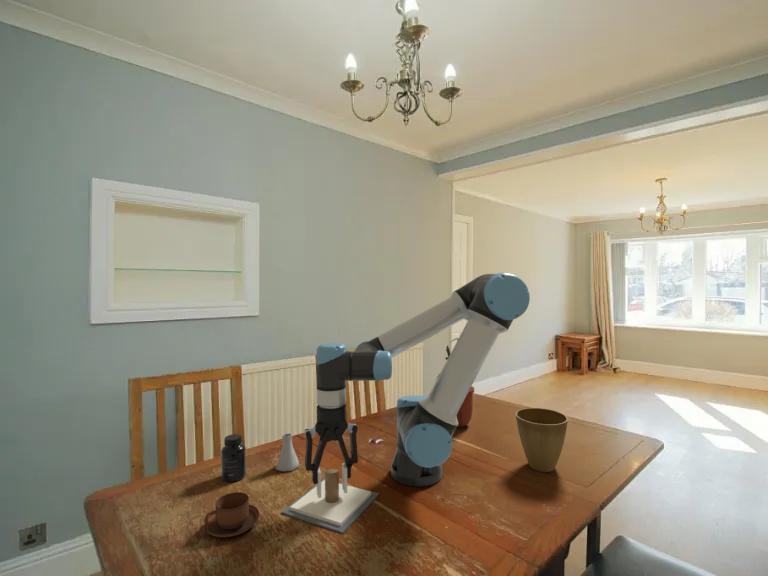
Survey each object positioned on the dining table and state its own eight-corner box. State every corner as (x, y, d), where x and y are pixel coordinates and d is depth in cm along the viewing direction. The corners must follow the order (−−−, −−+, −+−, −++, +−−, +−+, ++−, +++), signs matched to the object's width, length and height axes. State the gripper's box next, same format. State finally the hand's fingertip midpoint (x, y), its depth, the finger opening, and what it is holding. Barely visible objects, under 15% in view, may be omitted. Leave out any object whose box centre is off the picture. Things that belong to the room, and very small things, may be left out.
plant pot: (523, 452, 131) (523, 404, 131) (571, 463, 123) (572, 413, 122) (509, 469, 119) (509, 417, 119) (562, 484, 110) (562, 427, 110)
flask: (293, 473, 117) (293, 440, 117) (271, 471, 119) (270, 438, 119) (303, 462, 125) (302, 431, 124) (282, 460, 126) (281, 429, 126)
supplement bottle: (225, 472, 119) (225, 432, 118) (248, 470, 119) (248, 431, 119) (218, 483, 112) (217, 441, 112) (242, 482, 112) (242, 441, 112)
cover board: (371, 494, 105) (371, 465, 105) (340, 526, 91) (340, 493, 91) (324, 482, 111) (324, 455, 111) (290, 510, 98) (289, 479, 98)
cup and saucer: (226, 550, 84) (226, 521, 84) (193, 531, 91) (193, 505, 90) (269, 521, 94) (269, 495, 94) (237, 506, 101) (237, 482, 101)
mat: (378, 494, 105) (378, 493, 105) (342, 533, 89) (342, 531, 89) (323, 480, 113) (323, 478, 113) (281, 513, 97) (281, 511, 97)
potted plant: (477, 430, 150) (477, 339, 149) (437, 430, 150) (436, 340, 149) (468, 415, 167) (468, 333, 167) (432, 415, 167) (431, 333, 167)
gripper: (362, 396, 107) (363, 479, 108) (292, 403, 101) (293, 491, 102) (370, 404, 100) (371, 493, 101) (295, 412, 94) (296, 507, 95)
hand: (332, 492), depth 101 cm, fingers open, 6 cm apart
